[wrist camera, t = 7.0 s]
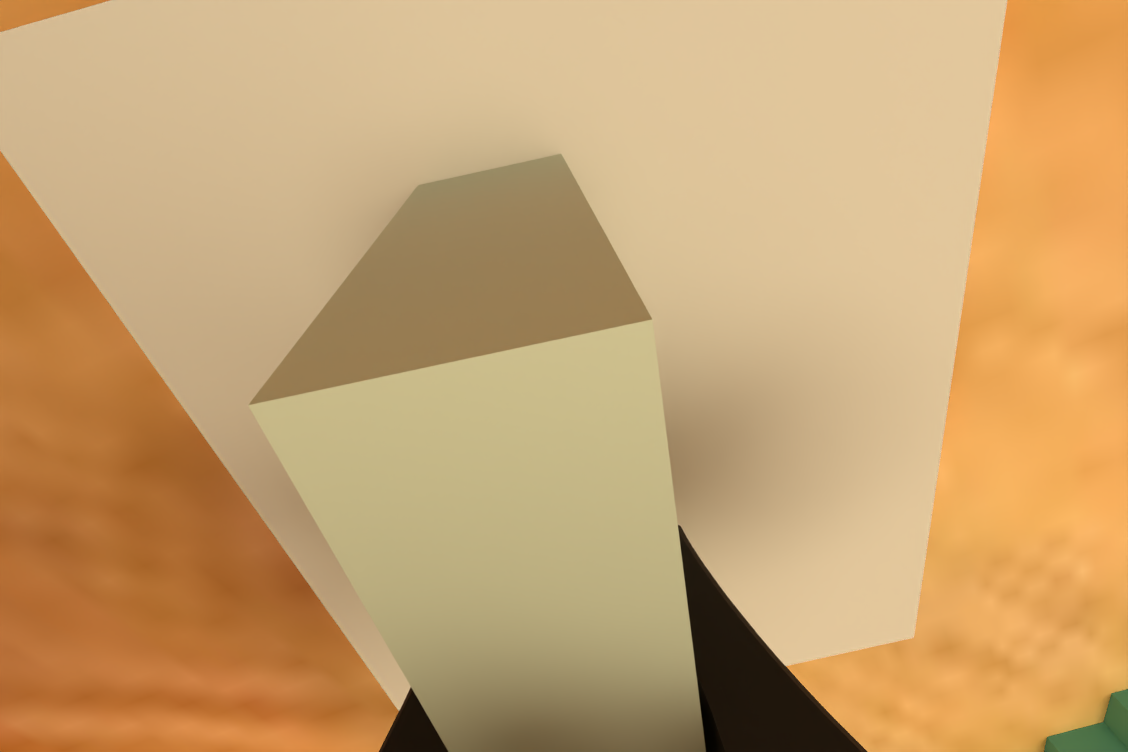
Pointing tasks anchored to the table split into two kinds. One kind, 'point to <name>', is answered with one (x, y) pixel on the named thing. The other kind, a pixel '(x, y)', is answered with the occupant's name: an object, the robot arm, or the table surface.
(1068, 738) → the alien figure
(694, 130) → the rubber mat
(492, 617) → the sage board
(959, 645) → the table surface
